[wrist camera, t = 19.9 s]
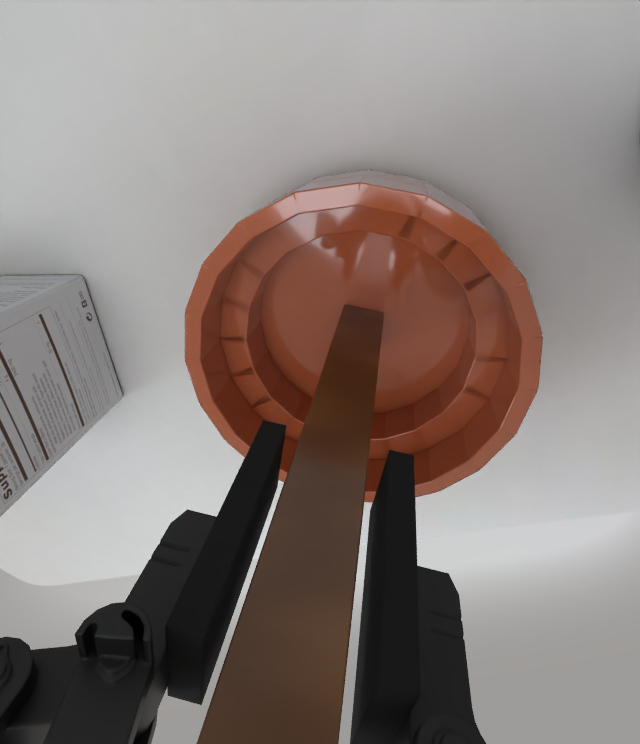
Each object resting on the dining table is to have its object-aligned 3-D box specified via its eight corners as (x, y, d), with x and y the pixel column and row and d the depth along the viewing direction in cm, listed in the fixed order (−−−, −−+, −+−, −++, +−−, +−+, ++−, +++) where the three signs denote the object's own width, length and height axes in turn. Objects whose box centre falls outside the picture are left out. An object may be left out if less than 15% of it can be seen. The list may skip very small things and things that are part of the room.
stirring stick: (384, 312, 23) (299, 1105, 4) (375, 348, 25) (276, 1105, 6) (344, 303, 24) (98, 1035, 5) (336, 340, 25) (114, 1049, 6)
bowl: (562, 205, 20) (616, 232, 15) (456, 457, 28) (467, 532, 23) (237, 141, 21) (184, 148, 16) (223, 403, 29) (184, 463, 24)
